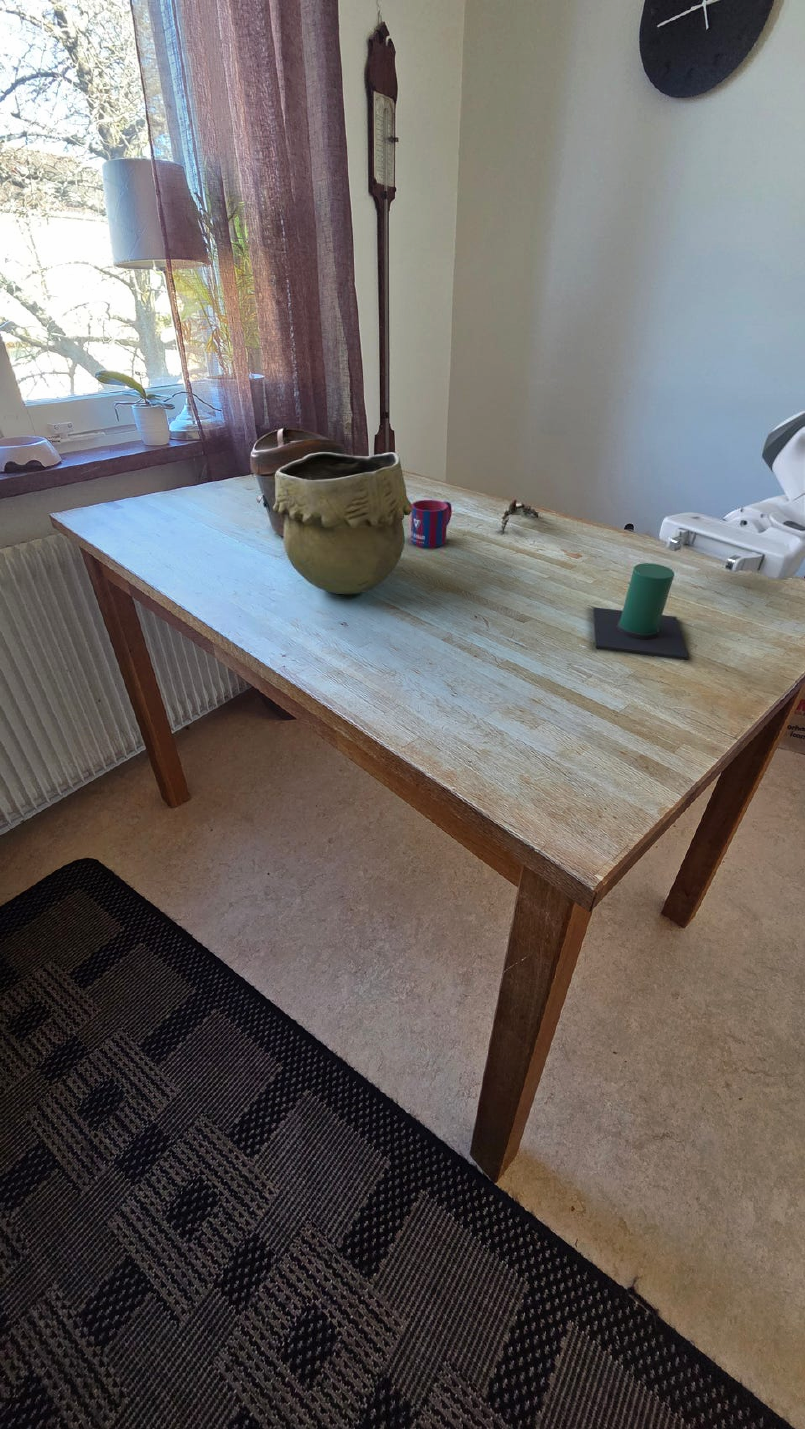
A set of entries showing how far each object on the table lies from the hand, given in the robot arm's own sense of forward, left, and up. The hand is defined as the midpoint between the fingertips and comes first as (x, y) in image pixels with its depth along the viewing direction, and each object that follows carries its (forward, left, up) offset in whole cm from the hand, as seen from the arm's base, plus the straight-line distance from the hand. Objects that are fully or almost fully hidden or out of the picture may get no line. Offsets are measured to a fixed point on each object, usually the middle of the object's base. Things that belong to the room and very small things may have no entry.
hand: (700, 554), depth 86 cm
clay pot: (+52, +5, -9) cm, 53 cm away
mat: (+7, +9, -9) cm, 14 cm away
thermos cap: (+7, +9, -9) cm, 14 cm away
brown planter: (+68, -19, -9) cm, 72 cm away
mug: (+42, -20, -9) cm, 48 cm away
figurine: (+27, -33, -9) cm, 44 cm away
